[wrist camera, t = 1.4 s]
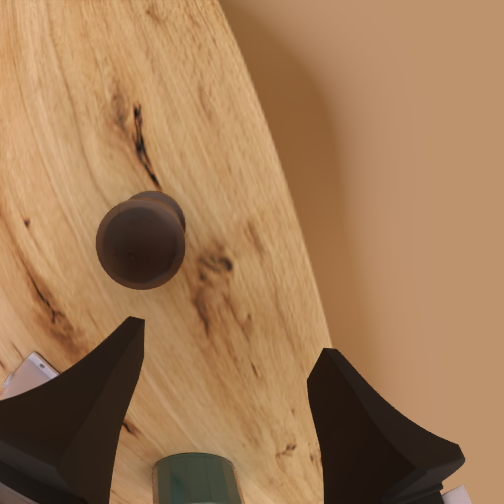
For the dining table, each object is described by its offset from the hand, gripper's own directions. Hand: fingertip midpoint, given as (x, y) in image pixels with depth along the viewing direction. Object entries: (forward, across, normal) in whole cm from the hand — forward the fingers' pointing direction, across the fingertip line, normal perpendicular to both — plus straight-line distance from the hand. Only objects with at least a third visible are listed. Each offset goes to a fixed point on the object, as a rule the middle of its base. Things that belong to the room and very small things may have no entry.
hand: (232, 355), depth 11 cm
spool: (+10, +6, -1) cm, 12 cm away
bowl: (+6, -1, +28) cm, 29 cm away
